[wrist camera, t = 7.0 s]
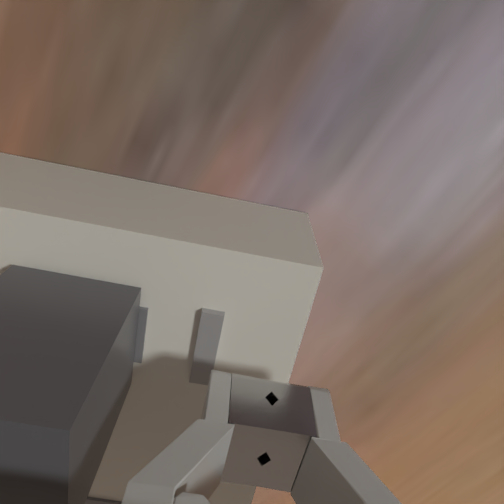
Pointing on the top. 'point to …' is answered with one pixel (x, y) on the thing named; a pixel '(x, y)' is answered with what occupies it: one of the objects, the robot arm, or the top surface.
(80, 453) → the tab
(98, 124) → the top surface
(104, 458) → the switch housing
